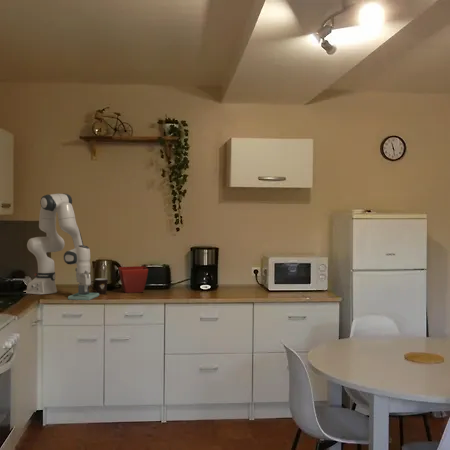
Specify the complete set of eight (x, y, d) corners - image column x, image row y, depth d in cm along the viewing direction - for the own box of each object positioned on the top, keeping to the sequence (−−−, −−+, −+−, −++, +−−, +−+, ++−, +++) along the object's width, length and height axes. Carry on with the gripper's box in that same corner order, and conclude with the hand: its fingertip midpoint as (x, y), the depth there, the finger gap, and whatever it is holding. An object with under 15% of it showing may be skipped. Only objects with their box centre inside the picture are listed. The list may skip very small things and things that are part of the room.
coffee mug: (109, 292, 395) (109, 278, 395) (105, 294, 386) (105, 280, 386) (93, 292, 396) (93, 277, 396) (89, 294, 388) (89, 279, 387)
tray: (68, 299, 367) (67, 296, 367) (78, 295, 384) (78, 292, 384) (89, 300, 365) (89, 297, 365) (99, 295, 381) (99, 293, 381)
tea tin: (78, 294, 372) (78, 284, 372) (82, 293, 377) (82, 282, 377) (85, 295, 371) (85, 284, 370) (89, 293, 376) (89, 283, 375)
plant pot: (118, 289, 407) (118, 266, 406) (144, 288, 413) (144, 265, 412) (120, 294, 389) (120, 270, 388) (148, 293, 394) (148, 269, 393)
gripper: (93, 271, 366) (93, 292, 367) (83, 267, 383) (83, 288, 384) (83, 272, 363) (83, 293, 363) (74, 268, 380) (74, 288, 381)
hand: (83, 290), depth 374 cm, fingers closed on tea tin, 7 cm apart
